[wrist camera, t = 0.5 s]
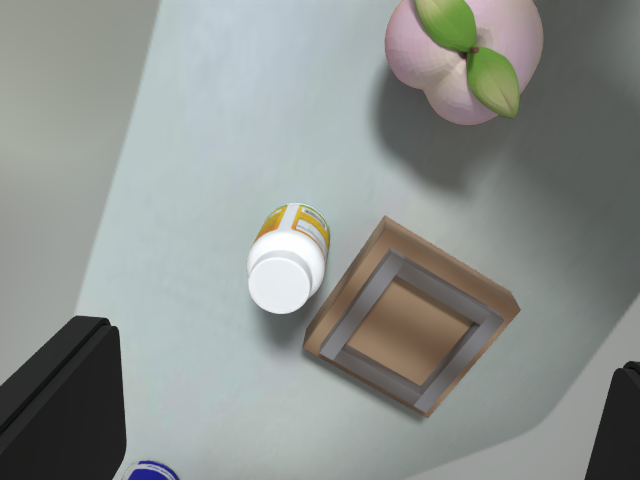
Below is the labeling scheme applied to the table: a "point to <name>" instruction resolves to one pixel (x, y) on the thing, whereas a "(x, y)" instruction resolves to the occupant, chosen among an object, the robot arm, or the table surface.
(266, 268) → the supplement bottle
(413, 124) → the table surface
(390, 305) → the stand
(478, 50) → the decorative fruit
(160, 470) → the beverage can
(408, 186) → the table surface
